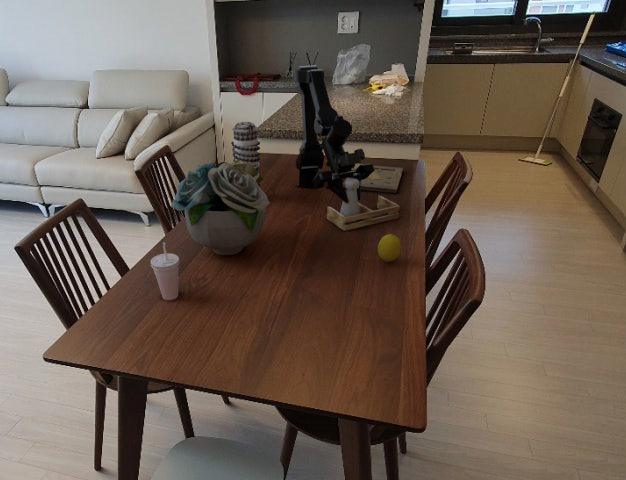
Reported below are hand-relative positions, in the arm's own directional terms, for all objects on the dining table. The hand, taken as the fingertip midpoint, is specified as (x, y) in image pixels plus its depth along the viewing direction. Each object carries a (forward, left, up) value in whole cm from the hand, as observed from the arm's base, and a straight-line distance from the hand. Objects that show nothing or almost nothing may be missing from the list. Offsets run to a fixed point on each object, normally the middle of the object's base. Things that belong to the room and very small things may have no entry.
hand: (353, 201), depth 135 cm
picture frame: (-2, +40, -7) cm, 40 cm away
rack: (+2, +4, -7) cm, 8 cm away
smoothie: (-30, -54, -7) cm, 62 cm away
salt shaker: (-1, +1, -7) cm, 7 cm away
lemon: (+14, -20, -7) cm, 26 cm away
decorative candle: (-38, +7, -7) cm, 39 cm away
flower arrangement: (-28, -28, -7) cm, 40 cm away
